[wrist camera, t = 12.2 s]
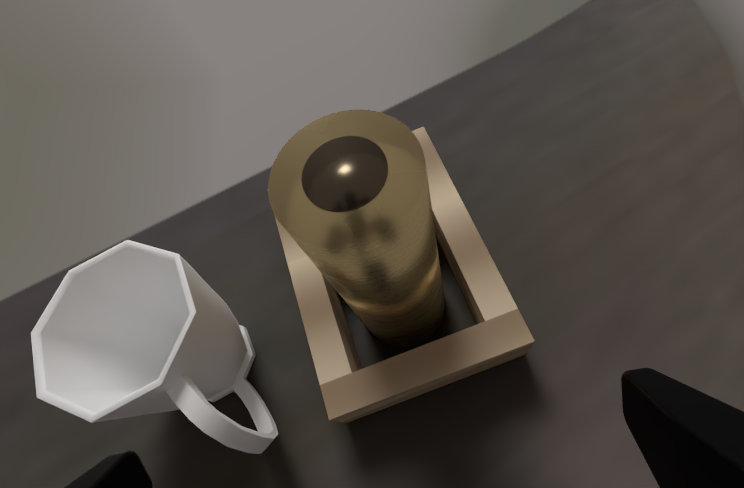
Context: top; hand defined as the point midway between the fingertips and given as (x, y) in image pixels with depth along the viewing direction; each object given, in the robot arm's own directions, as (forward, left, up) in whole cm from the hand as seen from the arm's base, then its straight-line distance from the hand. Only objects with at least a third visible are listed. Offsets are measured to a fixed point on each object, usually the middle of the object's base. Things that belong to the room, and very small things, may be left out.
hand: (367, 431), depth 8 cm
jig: (+8, -1, -14) cm, 16 cm away
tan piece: (+6, -1, -14) cm, 15 cm away
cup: (+6, +8, -14) cm, 17 cm away
